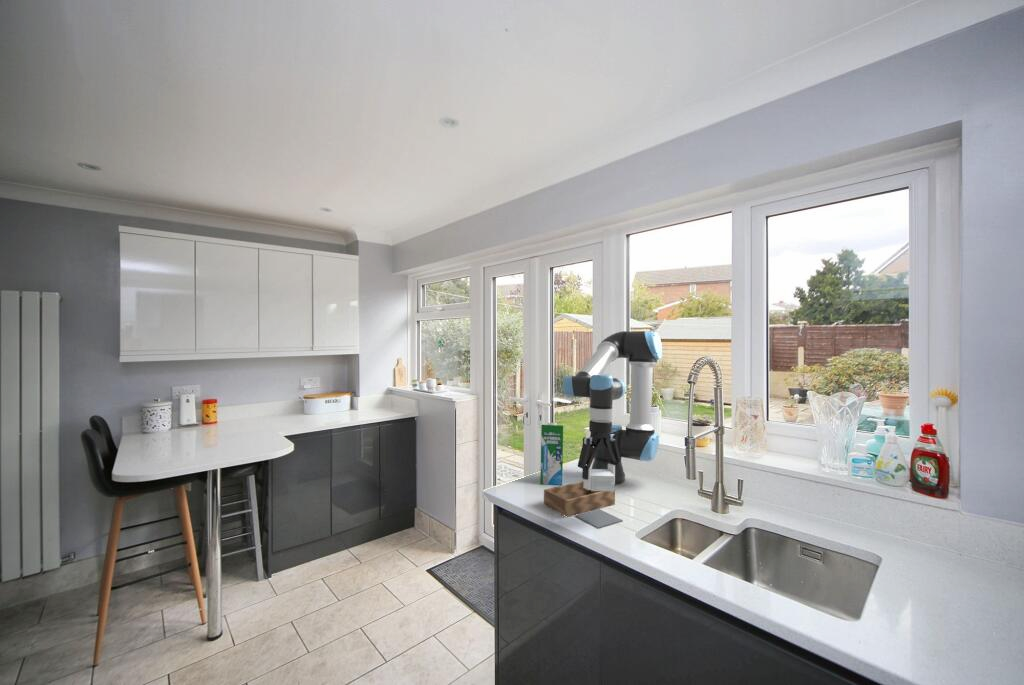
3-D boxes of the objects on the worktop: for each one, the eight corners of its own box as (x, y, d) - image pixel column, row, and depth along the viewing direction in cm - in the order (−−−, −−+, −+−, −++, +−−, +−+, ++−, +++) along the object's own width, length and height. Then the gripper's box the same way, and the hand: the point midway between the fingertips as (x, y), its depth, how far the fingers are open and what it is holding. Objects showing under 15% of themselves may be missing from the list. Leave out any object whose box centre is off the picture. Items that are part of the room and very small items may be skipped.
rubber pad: (599, 510, 152) (599, 508, 152) (622, 521, 142) (622, 520, 142) (575, 516, 146) (575, 515, 146) (598, 528, 136) (598, 527, 136)
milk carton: (561, 478, 186) (562, 421, 186) (562, 485, 177) (563, 425, 177) (541, 477, 187) (542, 420, 187) (540, 484, 178) (541, 424, 178)
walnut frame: (590, 493, 168) (590, 479, 168) (614, 504, 157) (615, 489, 157) (543, 504, 156) (543, 489, 156) (566, 517, 145) (567, 501, 145)
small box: (614, 491, 140) (614, 476, 140) (590, 491, 140) (591, 475, 140) (608, 483, 148) (608, 469, 148) (586, 483, 147) (586, 468, 147)
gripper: (616, 416, 153) (615, 477, 153) (567, 421, 141) (565, 488, 141) (632, 419, 147) (631, 483, 147) (582, 425, 135) (581, 495, 135)
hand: (599, 486), depth 144 cm, fingers closed on small box, 10 cm apart
